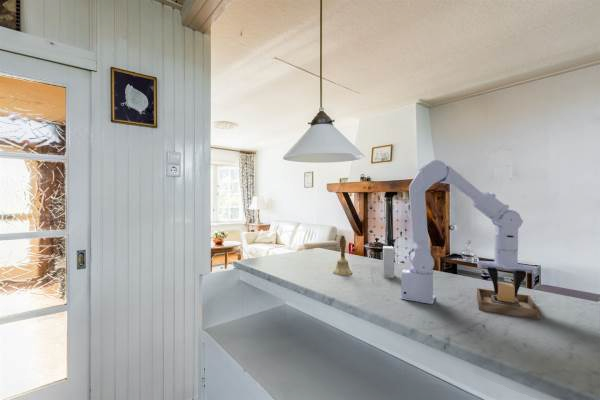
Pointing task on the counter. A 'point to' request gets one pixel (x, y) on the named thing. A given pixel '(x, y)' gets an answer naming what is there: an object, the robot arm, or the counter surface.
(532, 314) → the box
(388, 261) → the skincare box
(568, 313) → the counter surface
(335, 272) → the hand bell
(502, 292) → the plug
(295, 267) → the counter surface
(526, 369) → the counter surface
